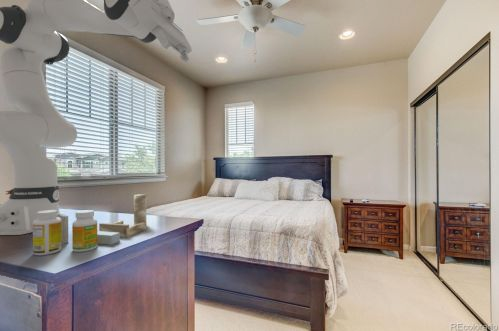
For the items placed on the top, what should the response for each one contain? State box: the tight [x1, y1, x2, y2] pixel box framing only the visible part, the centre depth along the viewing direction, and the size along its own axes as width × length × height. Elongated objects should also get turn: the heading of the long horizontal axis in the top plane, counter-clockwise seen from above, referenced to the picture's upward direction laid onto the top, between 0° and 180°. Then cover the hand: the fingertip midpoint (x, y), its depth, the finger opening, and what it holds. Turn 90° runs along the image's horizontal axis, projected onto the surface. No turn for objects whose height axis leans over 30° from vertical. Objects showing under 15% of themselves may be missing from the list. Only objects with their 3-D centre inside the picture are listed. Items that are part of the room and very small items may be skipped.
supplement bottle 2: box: [71, 209, 98, 253], centre depth 64 cm, size 5×5×10 cm
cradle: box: [98, 220, 147, 238], centre depth 80 cm, size 9×10×4 cm
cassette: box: [57, 212, 69, 245], centre depth 72 cm, size 12×2×8 cm, turn 54°
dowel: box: [133, 193, 147, 225], centre depth 88 cm, size 4×4×11 cm
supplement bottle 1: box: [32, 210, 63, 257], centre depth 62 cm, size 6×6×10 cm
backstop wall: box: [97, 230, 121, 246], centre depth 70 cm, size 3×12×2 cm, turn 76°
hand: (177, 53), depth 70 cm, fingers open, 8 cm apart
